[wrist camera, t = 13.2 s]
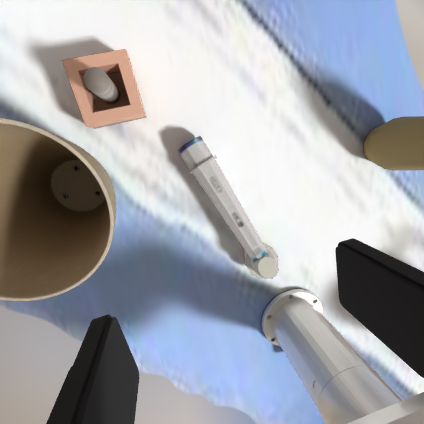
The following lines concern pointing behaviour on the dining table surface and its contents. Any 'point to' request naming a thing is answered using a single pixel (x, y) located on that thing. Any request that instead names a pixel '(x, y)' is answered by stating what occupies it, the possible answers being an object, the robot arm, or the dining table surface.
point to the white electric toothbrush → (229, 208)
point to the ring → (83, 95)
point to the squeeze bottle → (397, 144)
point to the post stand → (106, 90)
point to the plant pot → (50, 213)
